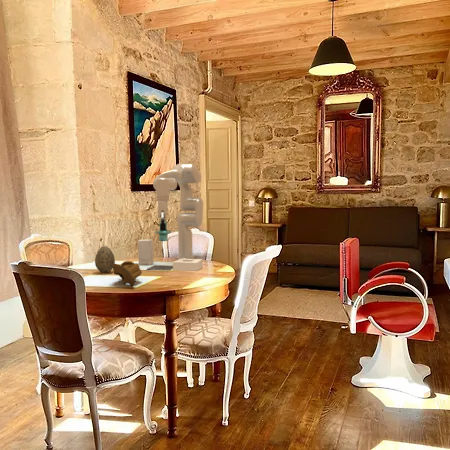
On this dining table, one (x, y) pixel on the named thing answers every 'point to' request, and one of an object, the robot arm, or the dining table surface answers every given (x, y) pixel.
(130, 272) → the brown looped sculpture
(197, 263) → the housing
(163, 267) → the mat
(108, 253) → the decorative egg
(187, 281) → the dining table surface
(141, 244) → the skincare box
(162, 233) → the end cover
